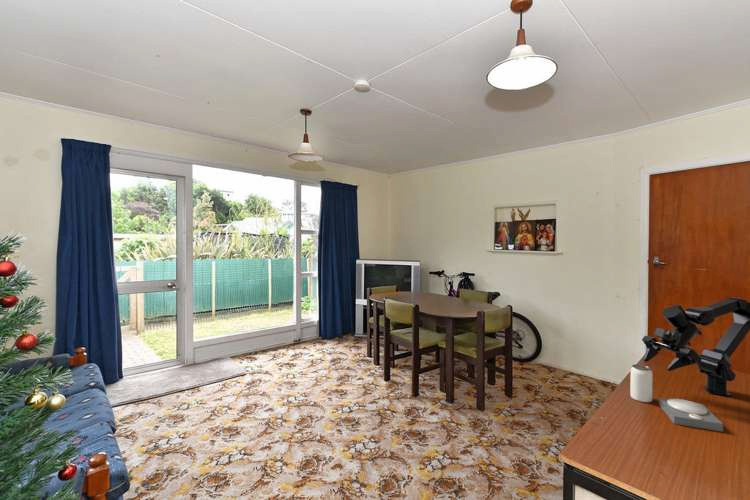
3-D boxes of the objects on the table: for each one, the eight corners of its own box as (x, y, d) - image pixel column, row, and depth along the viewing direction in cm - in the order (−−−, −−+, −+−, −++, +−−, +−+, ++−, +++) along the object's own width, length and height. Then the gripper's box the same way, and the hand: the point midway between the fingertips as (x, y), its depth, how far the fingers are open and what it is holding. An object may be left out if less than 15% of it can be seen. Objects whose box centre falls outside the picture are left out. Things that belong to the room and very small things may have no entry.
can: (656, 403, 125) (656, 371, 124) (636, 402, 126) (636, 370, 126) (645, 395, 131) (646, 364, 131) (626, 394, 132) (627, 363, 132)
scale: (658, 404, 124) (659, 395, 124) (701, 410, 119) (702, 401, 119) (674, 423, 111) (674, 413, 111) (723, 431, 106) (723, 421, 106)
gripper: (646, 315, 139) (621, 343, 137) (695, 327, 120) (667, 360, 119) (662, 334, 140) (638, 362, 139) (713, 348, 121) (686, 381, 120)
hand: (655, 365), depth 129 cm, fingers open, 9 cm apart
